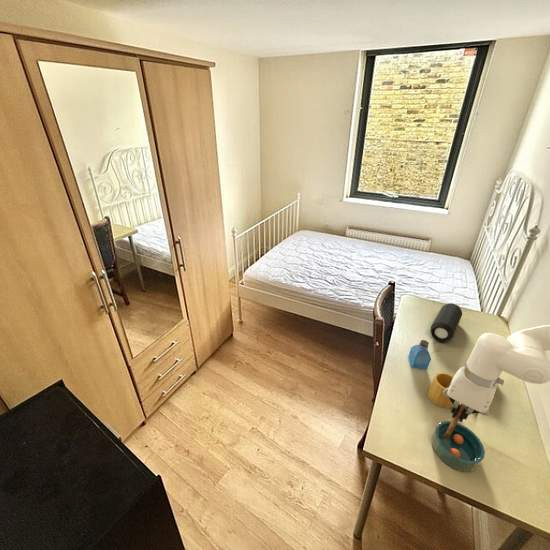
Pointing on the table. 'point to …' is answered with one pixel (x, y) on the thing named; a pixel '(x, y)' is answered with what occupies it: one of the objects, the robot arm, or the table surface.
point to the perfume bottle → (420, 355)
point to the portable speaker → (446, 322)
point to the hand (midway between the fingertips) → (457, 416)
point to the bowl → (458, 447)
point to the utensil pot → (440, 390)
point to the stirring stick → (454, 421)
